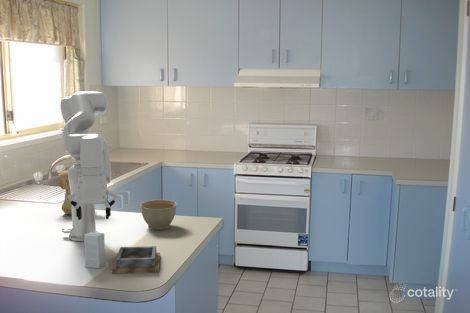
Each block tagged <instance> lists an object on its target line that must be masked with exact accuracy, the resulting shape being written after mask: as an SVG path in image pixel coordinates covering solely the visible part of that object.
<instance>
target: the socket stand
mask: <svg viewBox="0 0 470 313" xmlns="http://www.w3.org/2000/svg"><path fill="white" fill-rule="evenodd" d="M160 259H161V252H157V245H156V246H155V245H154V246H120V247H119V250H118V253H117V254H116V257H115V260H114V263H113V265H112V268H111V274H113V275H114V274H116V275H117V274H138V273H139V274H140V273H141V274H143V273H144V274H145V273H146V274H147V273H159V269H160Z"/></svg>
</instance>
